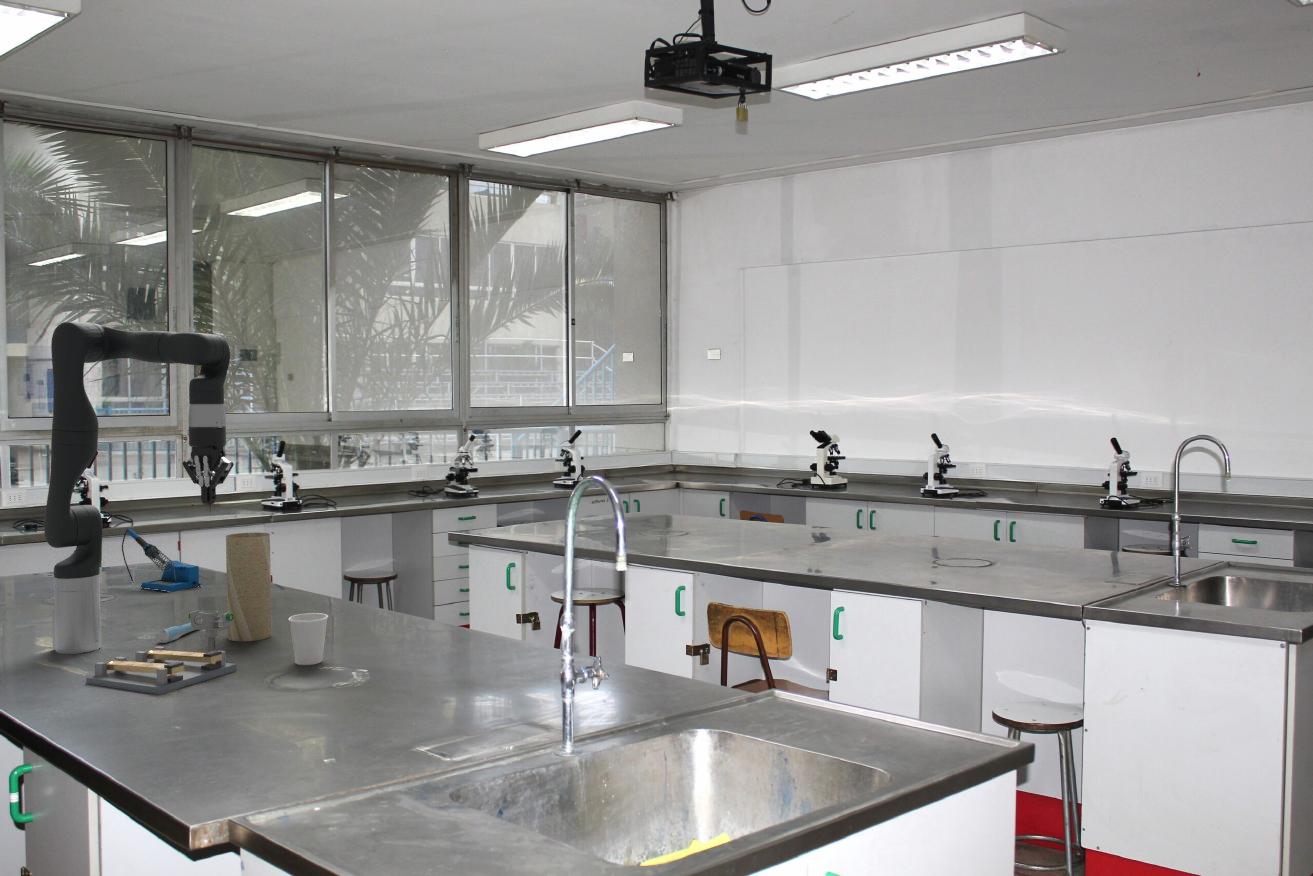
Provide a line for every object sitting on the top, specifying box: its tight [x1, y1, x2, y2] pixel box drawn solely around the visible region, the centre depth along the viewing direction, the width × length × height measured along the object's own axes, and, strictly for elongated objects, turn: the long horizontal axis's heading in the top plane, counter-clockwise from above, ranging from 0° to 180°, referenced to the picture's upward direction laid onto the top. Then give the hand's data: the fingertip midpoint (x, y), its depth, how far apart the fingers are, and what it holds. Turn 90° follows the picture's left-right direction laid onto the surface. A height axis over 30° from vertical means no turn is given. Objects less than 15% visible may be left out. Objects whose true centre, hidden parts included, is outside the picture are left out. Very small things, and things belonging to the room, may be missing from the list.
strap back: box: [146, 649, 223, 663], centre depth 223 cm, size 19×3×2 cm, turn 68°
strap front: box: [106, 659, 184, 675], centre depth 213 cm, size 19×3×2 cm, turn 68°
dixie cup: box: [288, 612, 329, 666], centre depth 231 cm, size 8×8×10 cm
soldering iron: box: [121, 528, 202, 592], centre depth 334 cm, size 35×31×18 cm
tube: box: [225, 532, 273, 642], centre depth 255 cm, size 10×10×25 cm
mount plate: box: [85, 645, 237, 695], centre depth 218 cm, size 20×20×4 cm
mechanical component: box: [188, 609, 233, 653], centre depth 236 cm, size 3×10×10 cm, turn 79°
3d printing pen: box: [156, 622, 196, 644], centre depth 257 cm, size 19×3×3 cm, turn 174°
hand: (208, 503), depth 230 cm, fingers closed
